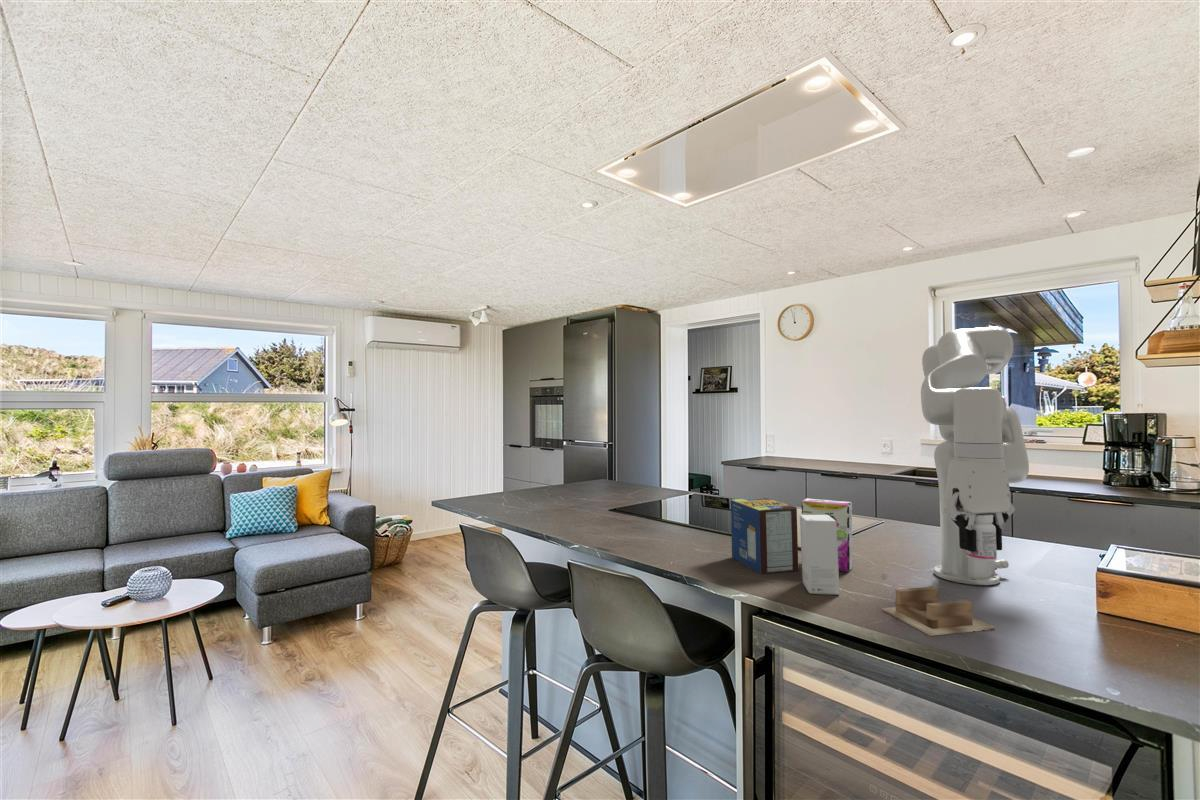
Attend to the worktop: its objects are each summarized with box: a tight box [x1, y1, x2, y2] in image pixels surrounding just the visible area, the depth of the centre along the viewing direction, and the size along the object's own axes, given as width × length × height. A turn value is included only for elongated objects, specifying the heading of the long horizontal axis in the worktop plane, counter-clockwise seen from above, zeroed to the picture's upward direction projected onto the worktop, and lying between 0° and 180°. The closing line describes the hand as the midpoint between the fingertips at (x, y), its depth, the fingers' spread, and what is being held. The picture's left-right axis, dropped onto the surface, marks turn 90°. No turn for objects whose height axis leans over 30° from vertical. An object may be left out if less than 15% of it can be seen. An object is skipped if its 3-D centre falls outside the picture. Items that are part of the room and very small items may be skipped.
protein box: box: [730, 497, 799, 575], centre depth 136 cm, size 10×15×16 cm
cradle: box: [881, 586, 996, 637], centre depth 99 cm, size 13×12×4 cm
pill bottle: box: [966, 513, 998, 561], centre depth 101 cm, size 5×5×8 cm
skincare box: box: [799, 514, 840, 596], centre depth 117 cm, size 8×7×16 cm
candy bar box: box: [801, 497, 854, 573], centre depth 133 cm, size 11×5×16 cm, turn 58°
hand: (980, 548), depth 101 cm, fingers closed on pill bottle, 4 cm apart
